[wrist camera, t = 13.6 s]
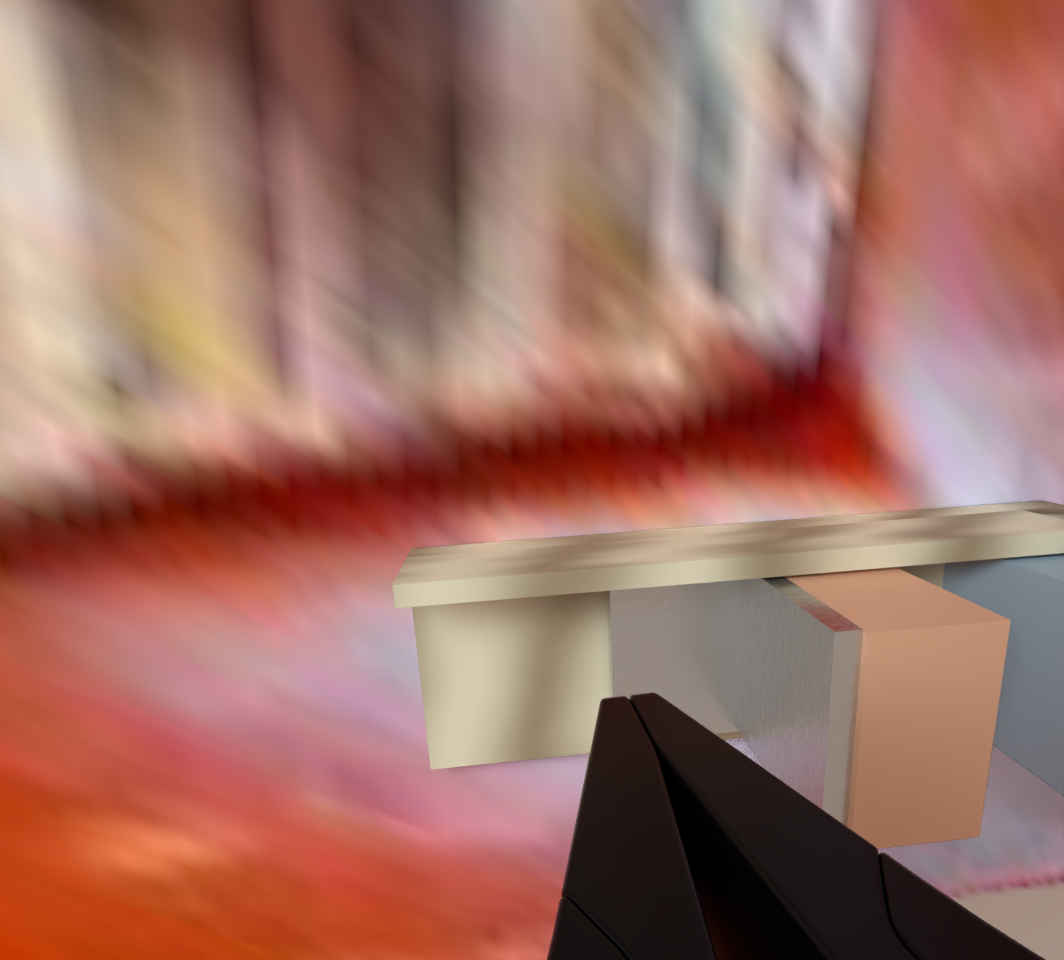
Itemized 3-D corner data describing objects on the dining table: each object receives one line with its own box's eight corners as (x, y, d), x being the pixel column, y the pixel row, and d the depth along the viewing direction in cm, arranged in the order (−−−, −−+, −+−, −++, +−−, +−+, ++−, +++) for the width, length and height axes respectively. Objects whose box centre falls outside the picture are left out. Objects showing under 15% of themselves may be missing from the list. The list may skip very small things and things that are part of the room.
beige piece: (1042, 500, 20) (1349, 566, 13) (1013, 693, 22) (1268, 847, 15) (411, 548, 19) (356, 652, 12) (433, 751, 21) (398, 953, 13)
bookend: (757, 558, 19) (863, 629, 13) (751, 720, 20) (845, 845, 15) (606, 570, 18) (651, 648, 13) (611, 735, 20) (654, 867, 14)
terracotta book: (852, 547, 19) (1011, 620, 13) (840, 706, 20) (978, 836, 15) (753, 555, 19) (868, 632, 13) (747, 716, 20) (850, 852, 14)
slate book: (1018, 534, 19) (1243, 599, 14) (996, 691, 21) (1191, 812, 15) (947, 540, 19) (1143, 608, 13) (929, 698, 21) (1100, 822, 15)
